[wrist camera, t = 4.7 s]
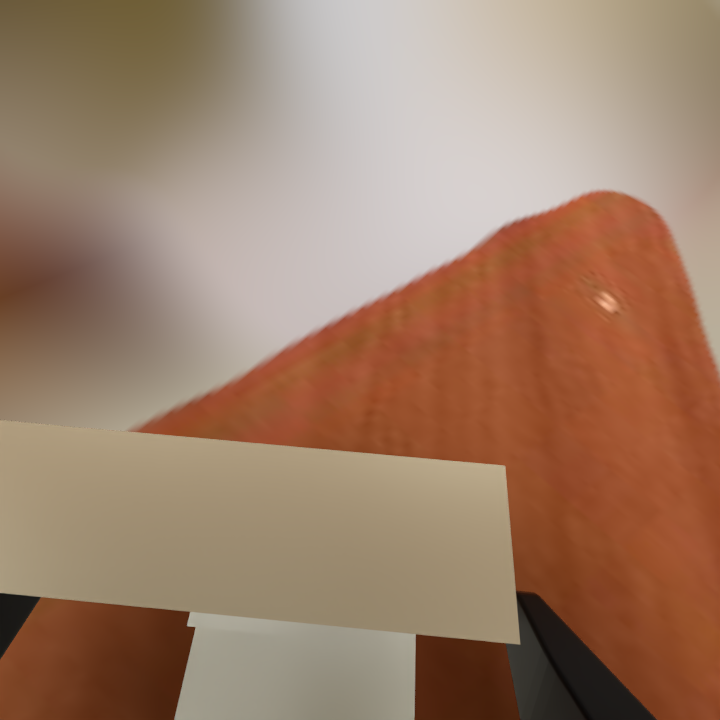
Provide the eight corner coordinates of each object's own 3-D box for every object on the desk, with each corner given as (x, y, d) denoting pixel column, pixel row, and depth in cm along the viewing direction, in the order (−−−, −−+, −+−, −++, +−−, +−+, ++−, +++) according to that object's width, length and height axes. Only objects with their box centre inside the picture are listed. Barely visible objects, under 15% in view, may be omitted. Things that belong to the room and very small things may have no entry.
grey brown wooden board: (390, 584, 15) (519, 644, 4) (235, 569, 15) (-126, 579, 4) (392, 538, 16) (505, 465, 4) (244, 524, 16) (-34, 417, 4)
